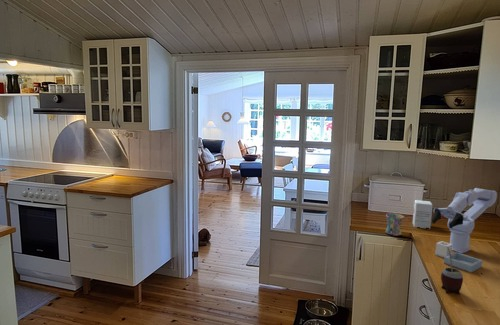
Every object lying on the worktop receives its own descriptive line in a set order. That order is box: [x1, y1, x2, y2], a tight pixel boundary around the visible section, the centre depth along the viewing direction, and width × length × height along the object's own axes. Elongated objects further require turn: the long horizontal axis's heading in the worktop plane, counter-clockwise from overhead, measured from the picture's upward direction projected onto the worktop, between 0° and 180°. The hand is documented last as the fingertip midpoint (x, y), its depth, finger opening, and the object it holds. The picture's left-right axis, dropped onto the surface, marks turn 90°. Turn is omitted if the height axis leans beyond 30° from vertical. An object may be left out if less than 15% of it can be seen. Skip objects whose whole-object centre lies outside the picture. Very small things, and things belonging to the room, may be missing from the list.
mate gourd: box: [440, 247, 464, 295], centre depth 128 cm, size 8×8×15 cm
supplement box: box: [412, 199, 433, 230], centre depth 207 cm, size 9×9×15 cm
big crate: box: [443, 251, 484, 274], centre depth 152 cm, size 11×11×3 cm
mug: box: [385, 212, 405, 237], centre depth 190 cm, size 12×9×11 cm
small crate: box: [434, 240, 453, 259], centre depth 162 cm, size 5×5×6 cm
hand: (441, 223), depth 157 cm, fingers open, 7 cm apart
